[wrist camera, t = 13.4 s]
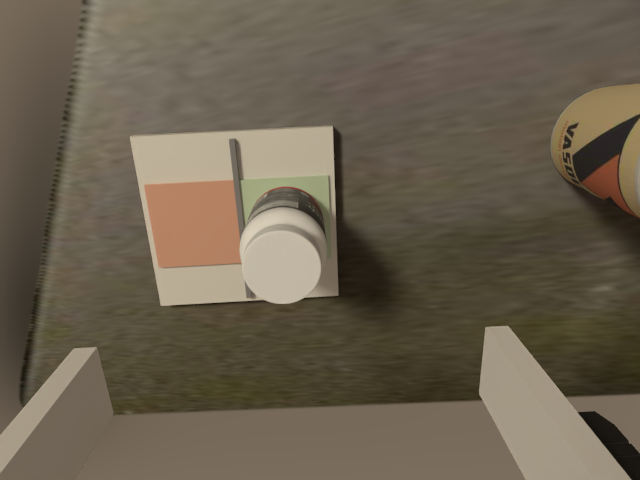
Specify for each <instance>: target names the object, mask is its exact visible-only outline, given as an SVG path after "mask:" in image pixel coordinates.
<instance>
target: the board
mask: <svg viewBox="0 0 640 480" xmlns="http://www.w3.org/2000/svg"><path fill="white" fill-rule="evenodd" d="M130 141H131V146H132V152H133V157H134V162H135V168H136V173H137V179H138V184H139V189H140V195H141V200H142V206H143V211H144V216H145V222H146V227H147V233H148V238H149V243H150V249H151V254H152V260H153V265H154V270H155V276H156V281H157V287H158V292H159V298H160V303H161V306H167V305H184V304H202V303H219V302H236V301H254V300H263V299H261V298H260V297H258V296H257V295H256V294H254V293H253V292H252V291H251V290H250V288H249V287H248V286H247V284H246V282H245V280H244V277H243V273H242V262H241V259H240V252H239V247H240V240H241V236H242V233H243V231H244V228H245V225H246V223H247V220H248V218H249V215H250V213H251V210H252V208H253V206H254V204H255V203H256V201H257V200H258V199H259V198H260V197H261V196H262V195H263V194H264V193H266V192H267V191H269V190H271V189H273V188H277V187H281V186H291V187H296V188H299V189H302V190H304V191H305V192H307V193H308V194H310V195H311V196H312V197H313V198H314V199H315V200H316V201H317V203H318V205H319V206H320V209H321V211H322V214H323V219H324V226H325V233H326V240H327V258H326V262H325V265H324V267H323V269H322V271H321V276H320V279H319V282H318V284H317V285H316V287H315V288H314V290H313V291H312V292H311V293H310V294H309V295H307V296H306V297H323V296H339V294H338V265H337V235H336V206H335V176H334V147H333V126H332V125H329V126H309V127H288V128H268V129H248V130H228V131H208V132H187V133H167V134H147V135H133V136H130ZM306 297H304V298H306Z"/></svg>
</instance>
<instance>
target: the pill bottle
mask: <svg viewBox="0 0 640 480" xmlns="http://www.w3.org/2000/svg"><path fill="white" fill-rule="evenodd" d="M239 252H240V259H241V262H242V273H243V277H244V280H245V282H246V284H247V286H248V287H249V288H250V290H251V291H252V292H253V293H254V294H256V295H257V296H258V297H260V298H261V299H263V300H266V301H268V302H272V303H277V304H288V303H293V302H296V301H299V300H301V299H303V298H304V297H306V296H307V295H309V294H310V293H311V292H312V291H313V290H314V288H315V287H316V285H317V284H318V282H319V279H320V276H321V271H322V269H323V267H324V265H325V262H326V258H327V240H326V233H325V226H324V219H323V214H322V211H321V209H320V206H319V205H318V203H317V201H316V200H315V199H314V198H313V197H312V196H311V195H310V194H308V193H307V192H305V191H304V190H302V189H299V188H296V187H291V186H281V187H277V188H273V189H271V190H269V191H267V192H266V193H264V194H263V195H262V196H261V197H260V198H259V199H258V200H257V201H256V203H255V204H254V206H253V208H252V210H251V213H250V215H249V218H248V220H247V223H246V225H245V228H244V231H243V233H242V236H241V240H240V247H239Z"/></svg>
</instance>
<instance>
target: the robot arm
mask: <svg viewBox="0 0 640 480" xmlns="http://www.w3.org/2000/svg"><path fill="white" fill-rule="evenodd" d="M479 395H480V396H481V398H482V400H483V402H484V404H485V406H486V407H487V409H488V411H489V413H490V415H491V417H492V418H493V420H494V422H495V424H496V426H497V427H498V429H499V431H500V433H501V435H502V437H503V439H504V441H505V443H506V444H507V446H508V448H509V450H510V452H511V453H512V455H513V457H514V459H515V461H516V463H517V464H518V467H519V468H520V470H521V472H522V474H523V476H524V478H525V479H526V480H640V453H639V452H638V451H637V450H636V449H635V448H634V447H633V445H632V444H629V442H628V440H627V439H626V437H624V435H623V434H622V433H621V432H620V431H619V430H618V428H617V427H616V426H615V425H614V424H612V423H611V422H609V421H608V420H606V419H605V418H604V417H602V416H601V415H599V414H598V413H596V412H595V411H594V412H577V411H576V410H575V409H574V408H573V406H572V405H571V404H570V402H569V401H568V400H567V399H566V398H565V396H564V395H563V394H562V393H561V391H560V390H559V389H558V388H557V386H556V385H555V384H554V383H553V381H552V380H551V379H550V378H549V376H548V375H547V374H546V373H545V371H544V370H543V369H542V368H541V366H540V365H539V364H538V363H537V361H536V360H535V359H534V358H533V356H532V355H531V354H530V353H529V351H528V350H527V349H526V348H525V346H524V345H523V344H522V343H521V341H520V340H519V339H518V338H517V336H516V335H515V334H514V333H513V332H512V330H511V329H510V328H509V327H508V326H498V327H486V328H485V338H484V348H483V358H482V368H481V378H480V388H479ZM112 415H113V409H112V405H111V401H110V397H109V393H108V389H107V385H106V381H105V377H104V373H103V369H102V366H101V362H100V358H99V354H98V350H97V347H93V348H74V349H73V350H72V351H71V353H70V354H69V355H68V356H67V357H66V358H65V360H64V361H63V362H62V363H61V364H60V366H59V367H58V368H57V369H56V370H55V371H54V373H53V374H52V375H51V376H50V377H49V379H48V380H47V381H46V382H45V383H44V384H43V386H42V387H41V388H40V389H39V390H38V392H37V393H36V394H35V395H34V396H33V397H32V399H31V400H30V401H29V402H28V403H27V404H26V406H25V407H24V408H23V409H22V410H21V412H20V413H19V414H18V415H17V416H16V417H15V419H14V420H13V421H12V422H11V423H10V425H9V426H8V427H7V428H6V429H5V430H4V432H3V433H2V434H1V435H0V480H76V478H77V477H78V475H79V473H80V471H81V469H82V468H83V466H84V464H85V462H86V461H87V459H88V457H89V455H90V454H91V452H92V450H93V448H94V447H95V445H96V443H97V441H98V440H99V438H100V436H101V434H102V433H103V431H104V429H105V427H106V425H107V424H108V422H109V420H110V419H111V417H112Z"/></svg>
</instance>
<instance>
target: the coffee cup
mask: <svg viewBox="0 0 640 480" xmlns="http://www.w3.org/2000/svg"><path fill="white" fill-rule="evenodd" d="M550 150H551V156H552V160H553V163H554V165H555V167H556V169H557V170H558V172H559V173H560V174H561V175H562V176H563V177H564V178H565V179H566V180H568V181H570V182H571V183H573V184H575V185H576V186H578V187H580V188H582V189H584V190H586V191H588V192H589V193H591V194H593V195H595V196H597V197H599V198H601V199H603V200H605V201H607V202H609V203H611V204H612V205H614V206H616V207H618V208H620V209H622V210H624V211H626V212H628V213H630V214H632V215H634V216H636V217H638V218H640V84H630V85H619V86H611V87H603V88H599V89H595V90H592V91H590V92H587V93H585V94H583V95H582V96H580V97H579V98H577V99H576V100H574V101H573V102H572V103H571V104H570V105H569V106H568V107H567V108H566V109H565V110H564V111H563V112H562V114H561V115H560V117H559V118H558V120H557V122H556V124H555V127H554V129H553V132H552V136H551V144H550Z"/></svg>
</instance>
